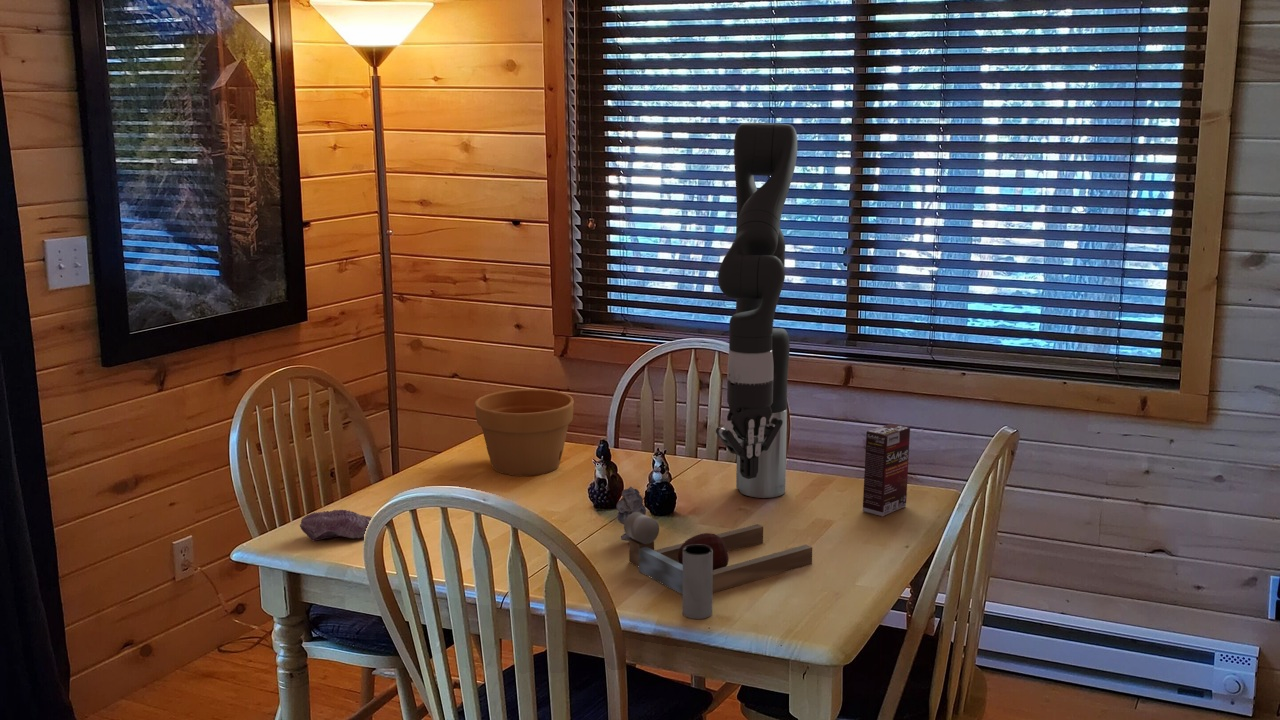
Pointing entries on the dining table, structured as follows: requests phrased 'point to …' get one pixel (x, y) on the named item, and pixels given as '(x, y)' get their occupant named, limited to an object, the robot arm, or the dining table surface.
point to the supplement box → (886, 469)
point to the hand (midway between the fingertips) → (748, 477)
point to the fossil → (334, 524)
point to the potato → (714, 542)
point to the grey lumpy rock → (629, 506)
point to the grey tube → (697, 581)
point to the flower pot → (525, 429)
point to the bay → (670, 571)
